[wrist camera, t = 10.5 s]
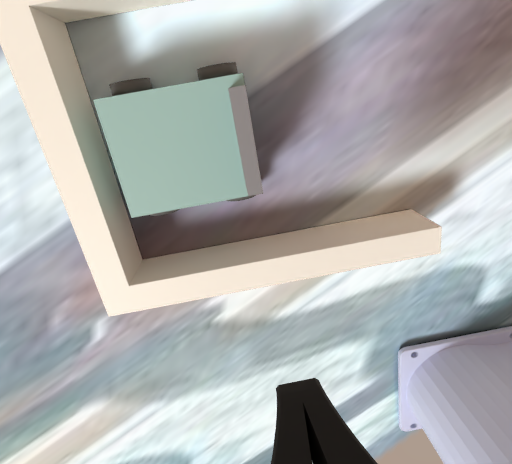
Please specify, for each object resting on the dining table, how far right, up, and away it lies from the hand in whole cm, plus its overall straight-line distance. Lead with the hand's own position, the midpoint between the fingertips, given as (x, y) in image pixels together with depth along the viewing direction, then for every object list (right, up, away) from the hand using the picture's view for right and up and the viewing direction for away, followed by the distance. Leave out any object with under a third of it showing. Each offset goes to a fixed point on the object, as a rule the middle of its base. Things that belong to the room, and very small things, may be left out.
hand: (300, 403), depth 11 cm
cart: (-5, +10, +6) cm, 13 cm away
